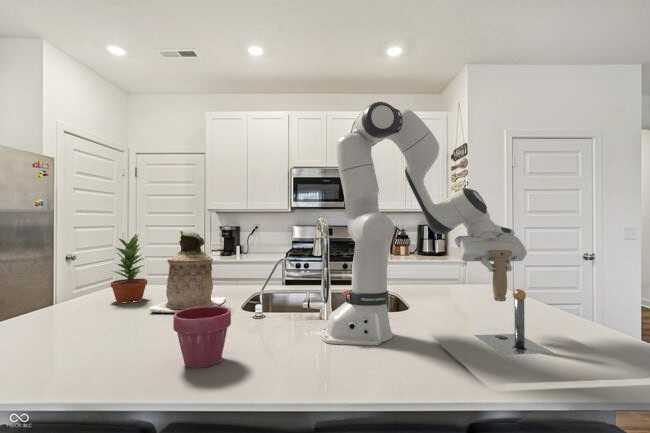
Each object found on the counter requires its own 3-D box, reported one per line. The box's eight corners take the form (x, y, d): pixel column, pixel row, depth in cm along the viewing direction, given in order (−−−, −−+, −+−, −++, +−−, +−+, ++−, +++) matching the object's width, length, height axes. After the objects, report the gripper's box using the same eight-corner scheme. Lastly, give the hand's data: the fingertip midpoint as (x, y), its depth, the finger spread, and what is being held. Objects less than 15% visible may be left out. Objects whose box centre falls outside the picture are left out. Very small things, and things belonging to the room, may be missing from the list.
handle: (513, 303, 107) (513, 251, 107) (489, 301, 108) (490, 251, 108) (509, 299, 112) (509, 250, 112) (486, 298, 113) (486, 249, 113)
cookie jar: (209, 314, 141) (209, 231, 142) (146, 314, 142) (146, 231, 142) (227, 300, 166) (227, 229, 166) (173, 300, 166) (173, 229, 167)
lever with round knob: (517, 350, 99) (517, 290, 99) (510, 346, 102) (510, 288, 102) (528, 350, 99) (528, 290, 99) (521, 346, 102) (521, 288, 102)
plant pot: (187, 351, 102) (187, 305, 102) (237, 351, 102) (237, 305, 102) (163, 372, 88) (163, 319, 88) (221, 373, 88) (221, 319, 88)
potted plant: (101, 304, 159) (101, 234, 159) (126, 296, 174) (126, 233, 174) (132, 305, 156) (132, 235, 156) (154, 297, 171) (154, 233, 171)
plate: (503, 359, 96) (503, 354, 96) (473, 339, 112) (473, 334, 112) (554, 357, 97) (554, 352, 97) (517, 337, 113) (517, 333, 113)
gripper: (456, 229, 116) (471, 264, 106) (518, 229, 118) (538, 263, 108) (450, 242, 121) (464, 277, 111) (509, 242, 122) (528, 276, 112)
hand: (501, 270), depth 109 cm, fingers closed on handle, 3 cm apart
